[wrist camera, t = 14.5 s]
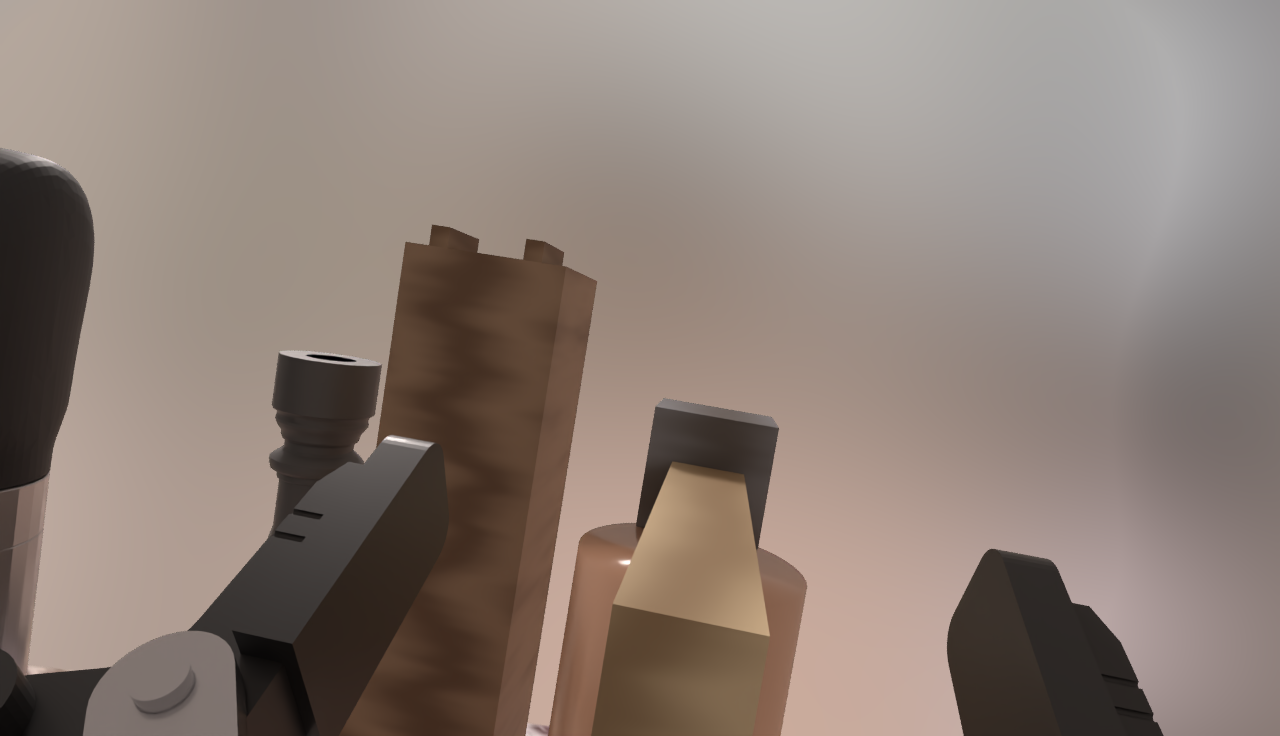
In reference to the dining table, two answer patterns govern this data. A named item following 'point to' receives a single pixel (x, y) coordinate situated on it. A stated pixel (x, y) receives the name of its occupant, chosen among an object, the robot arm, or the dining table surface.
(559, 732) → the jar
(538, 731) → the dining table surface
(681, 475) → the mallet
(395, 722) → the stand
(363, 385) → the candle holder
